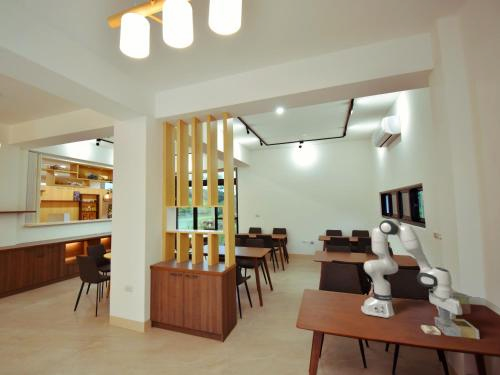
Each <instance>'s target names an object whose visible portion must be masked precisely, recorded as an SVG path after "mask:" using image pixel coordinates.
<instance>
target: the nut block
mask: <svg viewBox="0 0 500 375" xmlns="http://www.w3.org/2000/svg"><path fill="white" fill-rule="evenodd" d="M449 315H450V312H449V311H447V310H445V309H441V308H439V311H438V317H441V318H442V319H444V320H453V319H450V318H449Z"/></svg>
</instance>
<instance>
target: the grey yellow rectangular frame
mask: <svg viewBox="0 0 500 375" xmlns="http://www.w3.org/2000/svg"><path fill="white" fill-rule="evenodd" d="M433 319H434V325H435V327H436V328H437V329H438V330H439V331H440V332H442V333H443V334H444V335H445V336H446V337H447V336H448V337H457V338H465V339H466V338H467V339H477V340H480V332H479V331H480V330H479V329H478V328H477V327H475V326H474V325H473V324H471V323H470V322H469V321H467V320H466V319H464V318H456V319H454V318H453V320H444V319H442V318H441V317H440V316H434V317H433Z"/></svg>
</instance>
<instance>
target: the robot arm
mask: <svg viewBox="0 0 500 375" xmlns="http://www.w3.org/2000/svg"><path fill="white" fill-rule="evenodd" d="M389 235H391V236H398V237H397V238H398V239H399V241H400V243H401V245H402V248H403V249H404V250H405V251H406V252H407V253H409V254H411V256H413V257H414V259H415V260H416V263H417V264H418V267H419V269H420V270H419V273H417V275H416V279H417V282H418V283H419V285H422V287H426V288H427V287H434V288H431V289H430V288H429V289H428V298H429V302H430V303H431V304H432V305H434V306H436V309H437V310H438V312H439V308H443V309H445V310H447V311H449V312H450V315H449V318H450V319H453V316H454V315H455V314H456V316H462V315H463V314H462V308H461V304H460V302H459V301H458V299H456V298H453V288H452V284H453V282H452V276H451V273H450V271H449V270H448V269H445V268H444V267H438V266H436V267H434V268H433V267H432V266H431V265H430V263H429V261H428V259H427V256H426V255H425V253H424V251H423V248H422V244H421V241H420V239H419V237H418V235H417V233H416V231H415V230H414V227H412V226H411V225H409V224H402V223H401V222H400V220H398V219H396V218H387V219H384V220H382V221H381V222H379V226H378V227H377V226H376V227H374V228H373V229H372V232H371V251H372V253H373V254H375V255H376V256H377V257H378V259H370V260H366V261H365V262H364V264H363V271H365V273H366V274H367V275H368V276H370V278H371V280H372V284H373V290H374V291H372V290H370V291H369V294H371V296H370V297H368V298H367V299H365V300H364V303H363V305H361V307H360V310H361V311H362V313H363V314H365V315H367V316H368V315H370V316H373V317H374V316H375V317H382V318H387V319H389V318H390V317H393V316H394V315H395V312H394V309H393V303H392V302H393V298H392V293H391V283H390V282H389V281H388V280H387V279H385V278H384V275H393V274H396V273H397V272H398V271H399V266H398V263H397V261H395V260H394V259H393V258H392V257H391V255H390V252H389V241H388V239H389V238H388V237H389Z"/></svg>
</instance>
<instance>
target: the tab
mask: <svg viewBox="0 0 500 375" xmlns="http://www.w3.org/2000/svg"><path fill="white" fill-rule="evenodd" d="M420 329H421V330H422V331H423V332H424V333H425V334H427V335H435V336H436V335H437V336H442V333H441V332H442V331H441V330H440V329H439V328H438V327H437V326H436V325H435V326H434V325H427V324H426V325H425V324H421V325H420Z"/></svg>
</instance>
